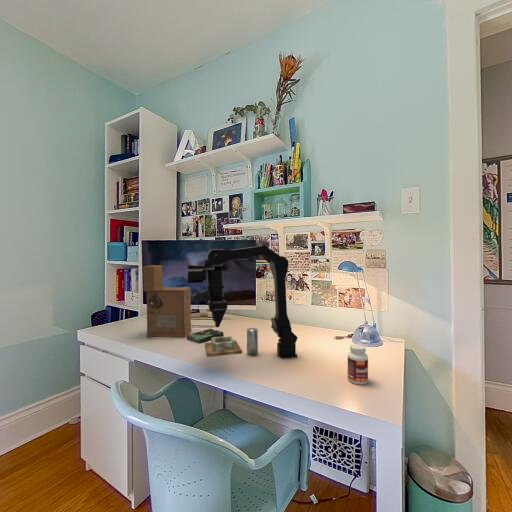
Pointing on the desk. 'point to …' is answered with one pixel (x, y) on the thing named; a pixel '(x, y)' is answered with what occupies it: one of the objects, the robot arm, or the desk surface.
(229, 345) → the dock board
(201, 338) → the disk drive
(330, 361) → the desk surface
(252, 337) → the peg
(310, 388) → the desk surface
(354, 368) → the pill bottle
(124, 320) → the desk surface
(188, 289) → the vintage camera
